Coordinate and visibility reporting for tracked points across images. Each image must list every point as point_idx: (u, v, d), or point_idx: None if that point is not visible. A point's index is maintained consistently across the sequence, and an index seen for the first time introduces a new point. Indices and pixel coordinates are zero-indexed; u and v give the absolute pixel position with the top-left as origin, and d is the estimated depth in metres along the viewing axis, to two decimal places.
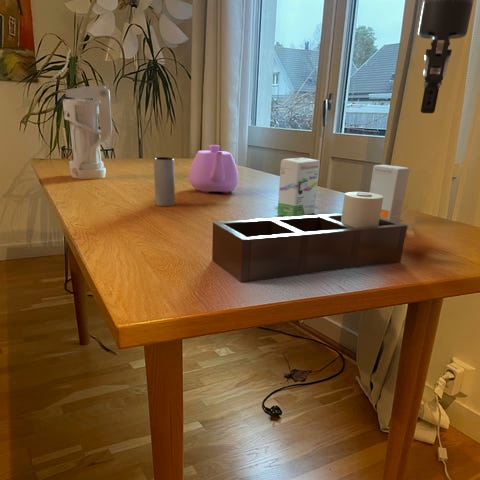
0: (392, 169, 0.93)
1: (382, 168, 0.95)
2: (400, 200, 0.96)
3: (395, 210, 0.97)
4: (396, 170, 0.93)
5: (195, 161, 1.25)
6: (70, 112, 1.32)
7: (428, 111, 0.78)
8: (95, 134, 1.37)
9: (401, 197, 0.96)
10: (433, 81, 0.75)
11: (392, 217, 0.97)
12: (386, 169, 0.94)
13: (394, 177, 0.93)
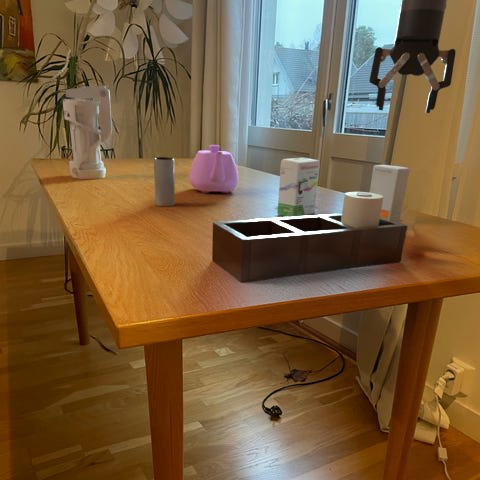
0: (392, 169, 0.93)
1: (382, 168, 0.95)
2: (400, 200, 0.96)
3: (395, 210, 0.97)
4: (396, 170, 0.93)
5: (195, 161, 1.25)
6: (70, 112, 1.32)
7: (379, 108, 0.91)
8: (95, 134, 1.37)
9: (401, 197, 0.96)
10: None
11: (392, 217, 0.97)
12: (386, 169, 0.94)
13: (394, 177, 0.93)
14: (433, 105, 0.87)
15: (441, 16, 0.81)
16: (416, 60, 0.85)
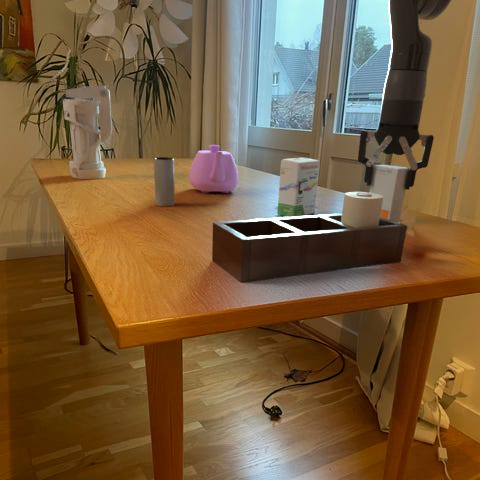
0: (392, 169, 0.93)
1: (382, 168, 0.95)
2: (400, 200, 0.96)
3: (395, 210, 0.97)
4: (396, 170, 0.93)
5: (195, 161, 1.25)
6: (70, 112, 1.32)
7: (367, 183, 0.98)
8: (95, 134, 1.37)
9: (401, 197, 0.96)
10: None
11: (392, 217, 0.97)
12: (386, 169, 0.94)
13: (394, 177, 0.93)
14: (412, 183, 0.95)
15: (420, 105, 0.88)
16: (398, 141, 0.92)
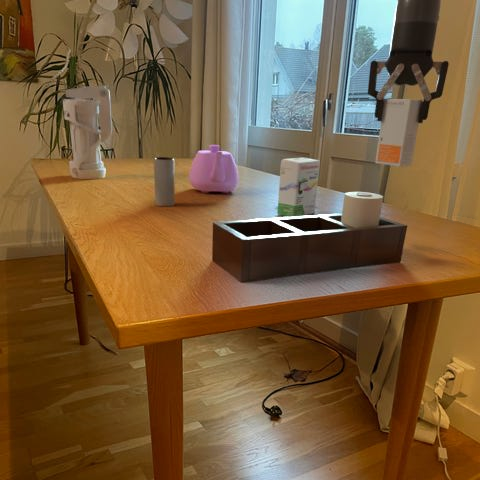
0: (404, 100, 0.88)
1: (393, 100, 0.90)
2: (413, 135, 0.91)
3: (408, 146, 0.92)
4: (408, 101, 0.88)
5: (195, 161, 1.25)
6: (70, 112, 1.32)
7: None
8: (95, 134, 1.37)
9: (414, 132, 0.91)
10: None
11: (405, 154, 0.92)
12: (397, 101, 0.89)
13: (406, 109, 0.88)
14: (426, 115, 0.89)
15: (434, 28, 0.83)
16: (410, 70, 0.87)
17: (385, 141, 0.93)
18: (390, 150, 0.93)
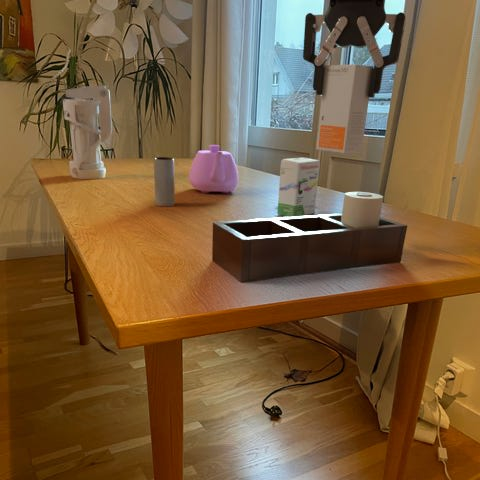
0: (348, 66, 0.67)
1: (335, 67, 0.69)
2: (361, 113, 0.70)
3: (355, 128, 0.70)
4: (353, 66, 0.66)
5: (195, 161, 1.25)
6: (70, 112, 1.32)
7: None
8: (95, 134, 1.37)
9: (362, 109, 0.70)
10: None
11: (351, 137, 0.71)
12: (340, 67, 0.68)
13: (351, 77, 0.67)
14: (377, 87, 0.68)
15: None
16: (356, 26, 0.66)
17: (327, 121, 0.72)
18: (332, 133, 0.72)
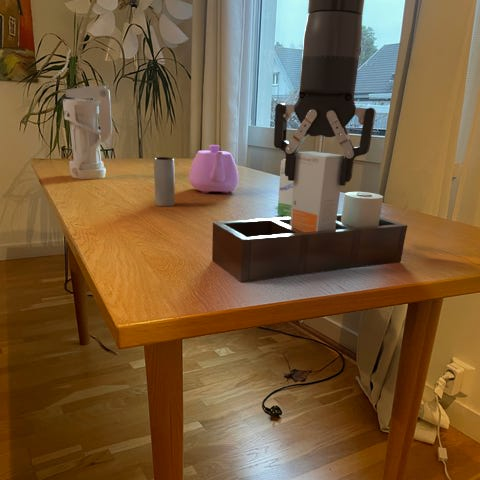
0: (318, 157, 0.66)
1: (306, 156, 0.68)
2: (333, 200, 0.70)
3: (327, 215, 0.70)
4: (323, 158, 0.66)
5: (195, 161, 1.25)
6: (70, 112, 1.32)
7: None
8: (95, 134, 1.37)
9: (334, 196, 0.70)
10: None
11: (323, 224, 0.70)
12: (311, 157, 0.67)
13: (322, 169, 0.66)
14: (348, 176, 0.68)
15: (353, 64, 0.62)
16: (326, 118, 0.65)
17: (299, 206, 0.71)
18: (305, 219, 0.71)
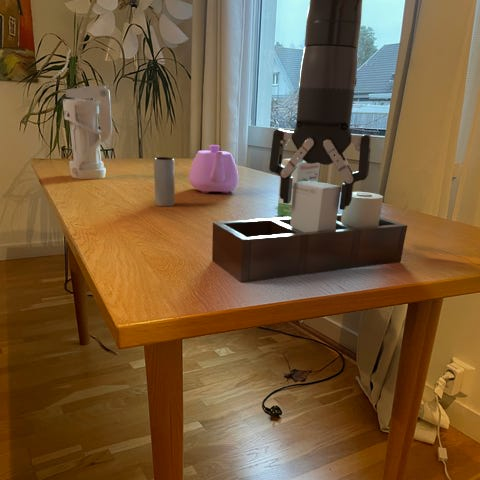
0: (316, 188, 0.68)
1: (304, 186, 0.70)
2: (330, 229, 0.71)
3: None
4: (320, 190, 0.68)
5: (195, 161, 1.25)
6: (70, 112, 1.32)
7: None
8: (95, 134, 1.37)
9: (331, 225, 0.71)
10: None
11: None
12: (308, 188, 0.69)
13: (319, 200, 0.68)
14: (348, 200, 0.69)
15: (348, 95, 0.63)
16: (323, 147, 0.67)
17: None
18: None
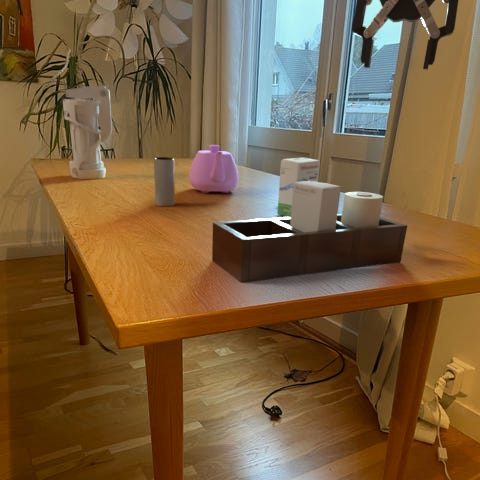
0: (316, 188, 0.68)
1: (304, 186, 0.70)
2: (330, 229, 0.71)
3: None
4: (320, 190, 0.68)
5: (195, 161, 1.25)
6: (70, 112, 1.32)
7: None
8: (95, 134, 1.37)
9: (331, 225, 0.71)
10: (354, 32, 0.72)
11: None
12: (308, 188, 0.69)
13: (319, 200, 0.68)
14: (432, 58, 0.69)
15: None
16: (410, 0, 0.67)
17: None
18: None
